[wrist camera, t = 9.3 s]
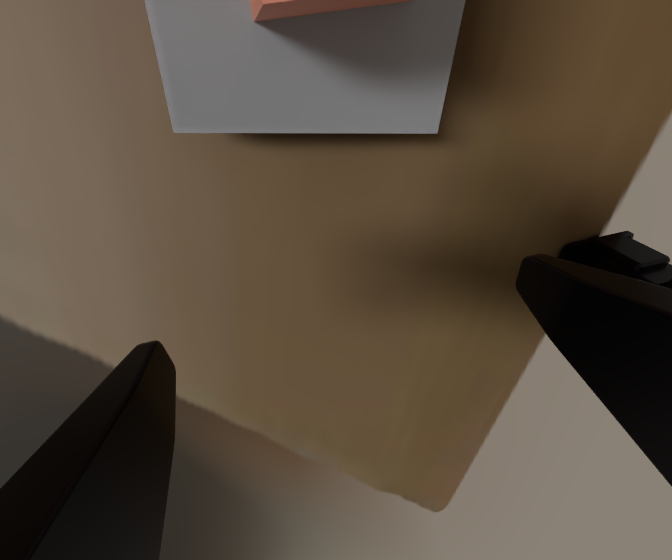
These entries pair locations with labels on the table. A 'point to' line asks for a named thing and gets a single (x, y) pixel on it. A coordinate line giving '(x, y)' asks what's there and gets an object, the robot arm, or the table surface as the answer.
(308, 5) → the red cube
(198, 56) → the grey box
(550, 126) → the table surface
